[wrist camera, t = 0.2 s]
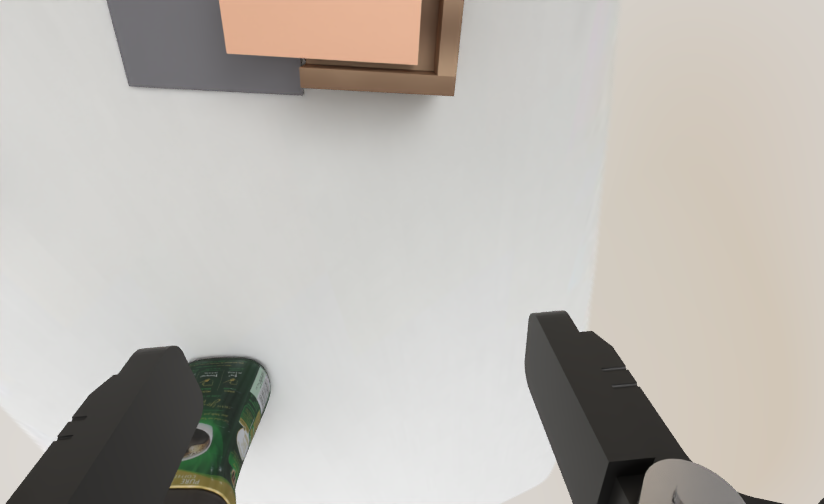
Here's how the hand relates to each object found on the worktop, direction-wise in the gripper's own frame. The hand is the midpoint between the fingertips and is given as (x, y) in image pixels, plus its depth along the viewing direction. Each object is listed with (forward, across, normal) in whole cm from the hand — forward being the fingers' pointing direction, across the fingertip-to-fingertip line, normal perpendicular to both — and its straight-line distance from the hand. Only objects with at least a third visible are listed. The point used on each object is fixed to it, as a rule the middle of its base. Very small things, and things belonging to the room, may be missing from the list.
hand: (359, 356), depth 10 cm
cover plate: (+24, +2, -7) cm, 25 cm away
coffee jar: (+28, +20, +28) cm, 45 cm away
